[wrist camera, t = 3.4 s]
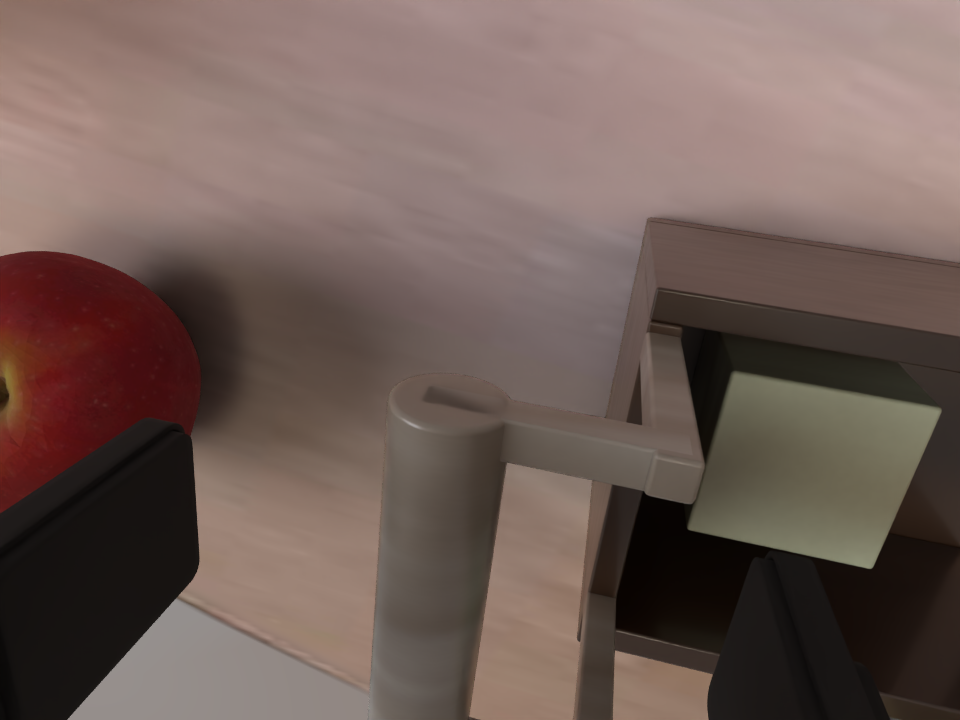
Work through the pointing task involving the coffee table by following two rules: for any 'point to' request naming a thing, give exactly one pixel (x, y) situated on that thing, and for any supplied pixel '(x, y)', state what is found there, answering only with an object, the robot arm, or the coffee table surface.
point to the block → (804, 446)
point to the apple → (82, 364)
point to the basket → (672, 482)
